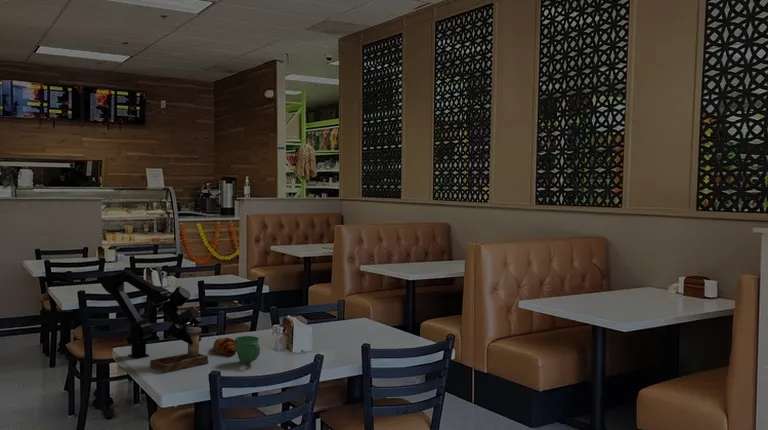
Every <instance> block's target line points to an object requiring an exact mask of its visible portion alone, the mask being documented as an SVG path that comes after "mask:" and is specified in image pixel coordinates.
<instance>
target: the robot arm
mask: <svg viewBox="0 0 768 430" xmlns="http://www.w3.org/2000/svg"><path fill="white" fill-rule="evenodd" d="M125 282H126V283H127V284H129V285H131V286H133V288H136V289H137V290H139V291H140V292H142V293H143V294H145V295H146V297H147V299H148V300H149V301H151V302H152V304H154V305H158V308H157V313H159V314H160V313H162V312H163V313H164V315H165V316H166V317H167V318H168V320H167V322H168V323H172V324H171V325H170V326H169V327H168V329H166V330H165V335H166V337H167V338H169V339H170V338H172V337H173V338H175V339H178V340H180V341H183V342H184V343H187V344H188V343H189V344H191V345H192V344H193V342H192V340H191V338H190V337H189V335H188V333H187V332H186V328H191V327H199V325H200V324H201V323H202V322H203V319H202V318H201V316H198V315H199V309H198V308H197V307H196V306H192V307H189V309H188V310H186V311H185V310H184V309H182V310H181V309H180V308H181V307H182V306H183V305H185V304H186V302H187V301H188V300H189V299H190V298H191V296H192V295H191V292H190V291H189V290H187V289H186V288H183V287H182V286H181V285H180V286H176V288H175V289H174V290H173V292H172V291H169V290H168V289H167V288H164V287H162V286H160V285H159V286H158V285H154V284H152V283H150V282H149V281H147V280H146V279H144V278H143V277H141V276H139V275H138V274H136V273H135V272H134V271H132V270H123V271H121V272H119V273H112V274H107V275H104V276H102V278H101V280H100V284H101V287H102V288H103V289H104V291H106V292H107V293H109V294H110V295H112V296H113V298H114V300H115V301H116V303H117V304H118V306H119V307H120V310H121V311H122V312H123V314H124V316H125V317H126V319H127V321H128V322H129V331H130V334H129V336H128V337H126V342H127V344H129V345H131V349H130V350H131V351H130V353H129V354H127V357H130V358H133V359H140V358H145V357H149V356H150V354H148V353H147V341H148V342H149V341H150V339H151V336H152V335H153V332H154V328H153V326H154V325H153V324H152V323H151V322H150V319H149V318H143V317H142V316H141V315H140V314H139V312H138V310H137V309H136V307H135V305H134V304H133V302H132V301H131V299H130V297H129V296H128V294H127V292H126V291H125ZM159 304H162V305H159ZM179 307H180V308H179ZM195 316H196V317H195ZM201 341H202V337H201V335H200V333H199V343H200V342H201Z"/></svg>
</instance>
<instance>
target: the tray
mask: <svg viewBox="0 0 768 430" xmlns="http://www.w3.org/2000/svg"><path fill="white" fill-rule="evenodd" d="M207 364H209V356H208V355H206V354H201V353H199V357H194V358H190V359H188V352H187V353H181V354H178V355H177V354H176V355H172V356H165V357H159V358H155V359H150V360H149V365H150V366H149V367H150V369H153V370H156V371H159V372H160V373H164V374H168V373H171V372H177V371H181V369H182V370H184V369H190V368H195V367H199V366H203V365H204V366H205V365H207Z"/></svg>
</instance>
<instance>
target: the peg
mask: <svg viewBox="0 0 768 430" xmlns="http://www.w3.org/2000/svg"><path fill="white" fill-rule="evenodd" d="M186 332H187V334H188V335H189V337H190V338H191V340H192V342H193V344H192V345H191V344H189V343H187V353H188V359H190V358H194V357H199V354H200V353H199V352H200V342H199V334H200V333H201V332H202V327H199V326H198V327H191V328H186Z"/></svg>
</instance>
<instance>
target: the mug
mask: <svg viewBox="0 0 768 430" xmlns="http://www.w3.org/2000/svg"><path fill="white" fill-rule="evenodd" d="M234 340H235V345H236V350H237V351H236V353H237V357H238V360H239V363H240V364H245V365H246V364H251V363H253V362H255V361H256V360H257V359H258V357H259V355H260V353H261V352H260V351H261V347H260V344H259V337H257V336H253V335H242V336H238V337H235V338H234Z"/></svg>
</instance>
